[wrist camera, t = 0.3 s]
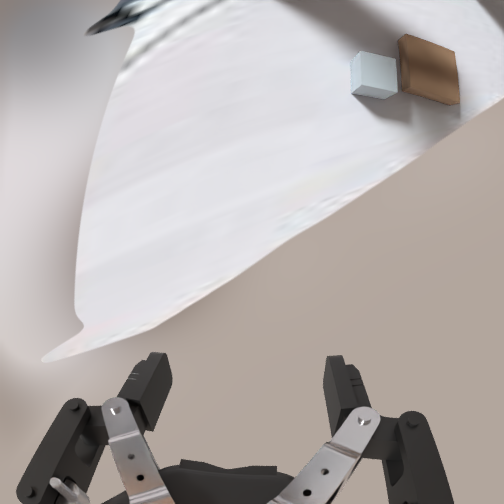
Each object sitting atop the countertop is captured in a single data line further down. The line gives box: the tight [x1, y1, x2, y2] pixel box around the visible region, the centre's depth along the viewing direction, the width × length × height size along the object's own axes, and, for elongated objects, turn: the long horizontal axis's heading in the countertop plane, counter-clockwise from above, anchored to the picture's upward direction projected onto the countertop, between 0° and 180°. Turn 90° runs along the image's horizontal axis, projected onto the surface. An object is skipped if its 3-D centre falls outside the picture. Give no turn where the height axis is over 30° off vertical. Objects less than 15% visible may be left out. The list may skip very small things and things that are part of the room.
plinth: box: [398, 34, 460, 105], centre depth 29 cm, size 9×9×3 cm
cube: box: [350, 51, 398, 99], centre depth 30 cm, size 5×5×5 cm
